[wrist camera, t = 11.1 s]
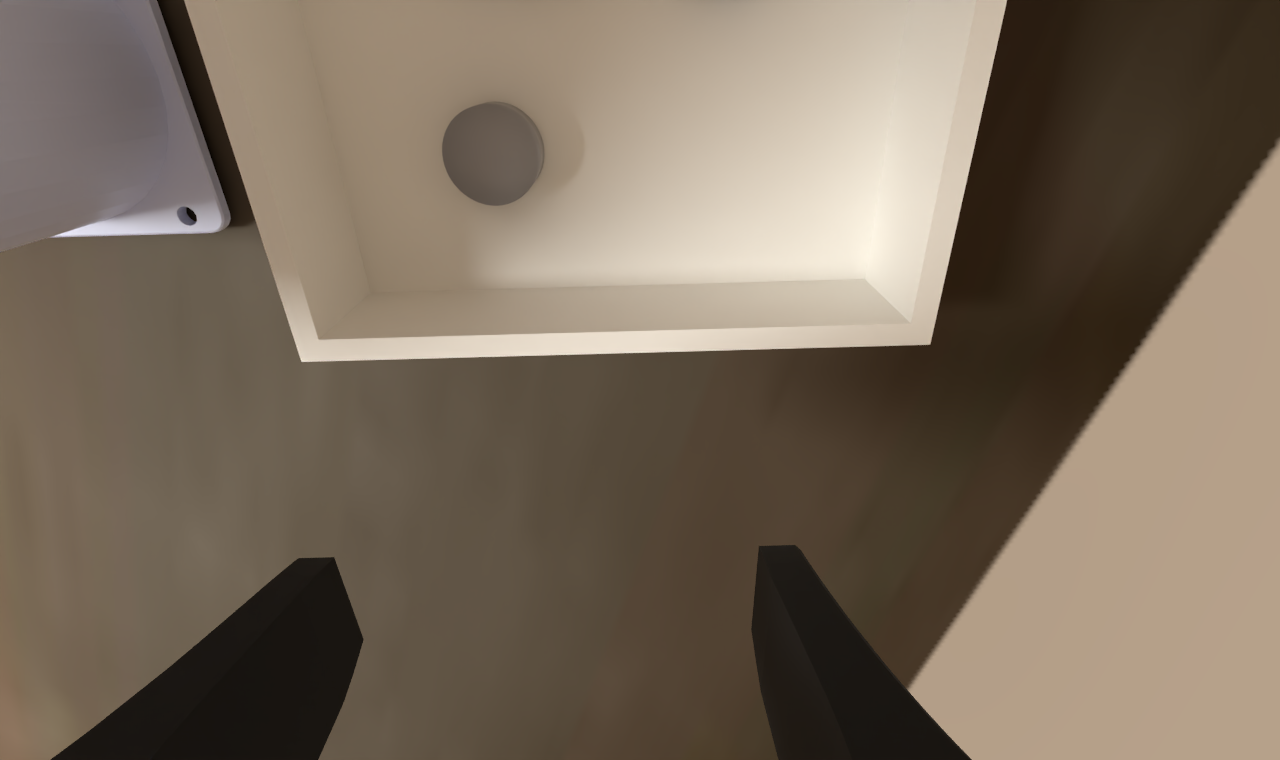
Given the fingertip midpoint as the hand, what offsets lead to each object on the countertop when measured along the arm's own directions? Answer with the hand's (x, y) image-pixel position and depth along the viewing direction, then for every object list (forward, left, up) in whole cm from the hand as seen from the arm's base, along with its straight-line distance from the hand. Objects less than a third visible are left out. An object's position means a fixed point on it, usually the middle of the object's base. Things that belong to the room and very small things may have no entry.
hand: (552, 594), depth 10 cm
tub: (+1, +8, -10) cm, 13 cm away
